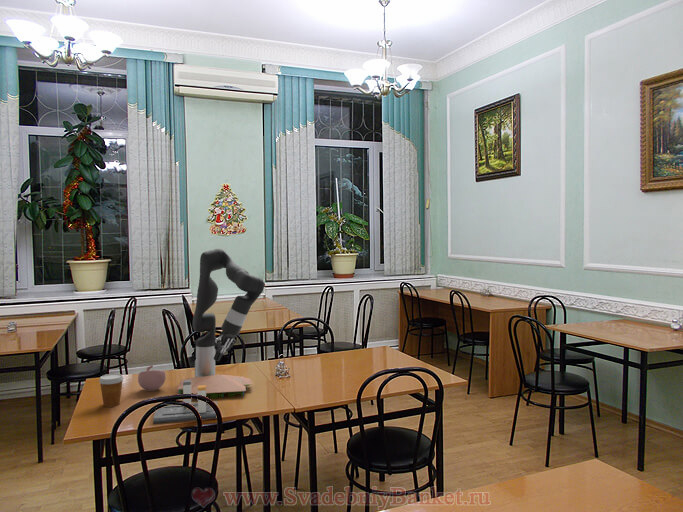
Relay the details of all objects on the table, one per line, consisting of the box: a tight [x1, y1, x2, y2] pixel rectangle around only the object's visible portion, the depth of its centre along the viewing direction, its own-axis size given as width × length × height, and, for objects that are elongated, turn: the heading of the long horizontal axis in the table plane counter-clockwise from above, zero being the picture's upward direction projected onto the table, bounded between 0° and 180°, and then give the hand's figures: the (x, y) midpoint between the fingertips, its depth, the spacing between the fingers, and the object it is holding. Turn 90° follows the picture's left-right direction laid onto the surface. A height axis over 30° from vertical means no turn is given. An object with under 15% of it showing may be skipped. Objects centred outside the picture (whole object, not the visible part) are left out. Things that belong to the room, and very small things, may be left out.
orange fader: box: [197, 385, 207, 413], centre depth 202 cm, size 3×3×11 cm
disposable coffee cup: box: [98, 373, 124, 408], centre depth 216 cm, size 10×10×12 cm
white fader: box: [182, 380, 192, 407], centre depth 209 cm, size 3×3×11 cm
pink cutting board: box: [176, 374, 252, 399], centre depth 235 cm, size 23×33×8 cm
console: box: [152, 400, 218, 424], centre depth 205 cm, size 24×15×2 cm, turn 104°
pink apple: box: [137, 364, 167, 392], centre depth 236 cm, size 12×12×11 cm
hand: (216, 360), depth 205 cm, fingers closed
